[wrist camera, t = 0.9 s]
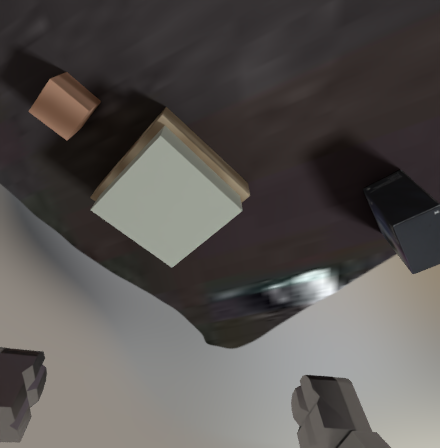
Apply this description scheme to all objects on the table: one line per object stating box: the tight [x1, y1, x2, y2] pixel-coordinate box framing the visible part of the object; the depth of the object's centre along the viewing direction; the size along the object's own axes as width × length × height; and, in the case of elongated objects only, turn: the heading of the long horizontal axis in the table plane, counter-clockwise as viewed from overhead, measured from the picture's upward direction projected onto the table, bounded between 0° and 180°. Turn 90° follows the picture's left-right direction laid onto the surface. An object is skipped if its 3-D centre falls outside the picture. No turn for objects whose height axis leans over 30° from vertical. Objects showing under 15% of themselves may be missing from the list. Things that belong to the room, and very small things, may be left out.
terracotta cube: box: [29, 72, 101, 140], centre depth 39 cm, size 5×5×5 cm
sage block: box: [91, 126, 242, 267], centre depth 43 cm, size 14×14×4 cm
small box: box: [363, 170, 440, 274], centre depth 47 cm, size 11×6×10 cm, turn 33°
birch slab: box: [90, 107, 250, 203], centre depth 47 cm, size 16×16×4 cm
